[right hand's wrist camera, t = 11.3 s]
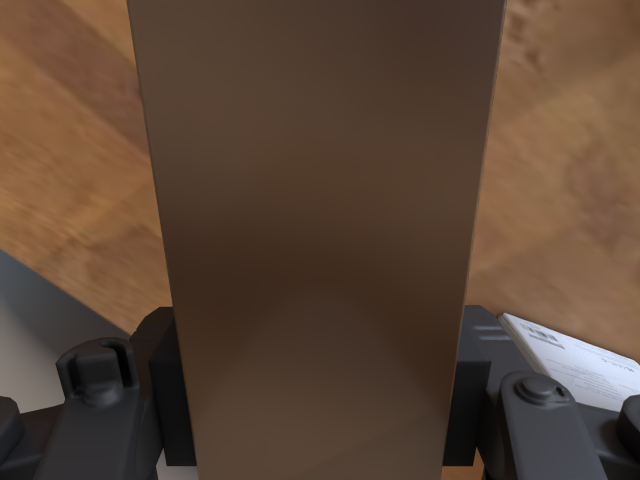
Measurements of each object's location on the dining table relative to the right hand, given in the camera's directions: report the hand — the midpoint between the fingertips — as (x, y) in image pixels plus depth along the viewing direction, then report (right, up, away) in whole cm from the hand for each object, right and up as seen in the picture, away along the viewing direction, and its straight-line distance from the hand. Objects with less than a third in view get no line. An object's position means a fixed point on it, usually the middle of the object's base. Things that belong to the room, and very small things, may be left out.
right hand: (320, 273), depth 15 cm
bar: (0, +26, -10) cm, 28 cm away
